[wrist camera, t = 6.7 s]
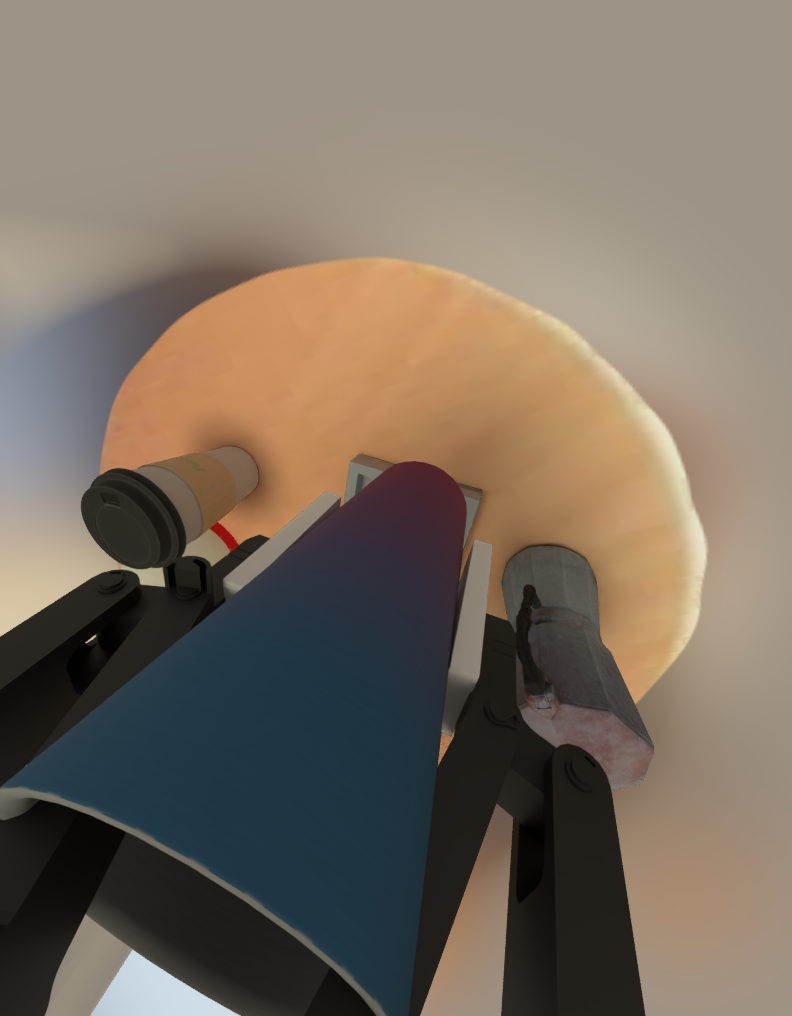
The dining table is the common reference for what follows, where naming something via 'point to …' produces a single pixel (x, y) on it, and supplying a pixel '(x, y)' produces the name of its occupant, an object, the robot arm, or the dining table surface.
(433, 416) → the dining table surface
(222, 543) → the kitchen timer
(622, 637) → the dining table surface
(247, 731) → the cup
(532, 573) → the moka pot
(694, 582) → the dining table surface
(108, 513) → the coffee cup
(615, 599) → the dining table surface
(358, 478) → the tray
